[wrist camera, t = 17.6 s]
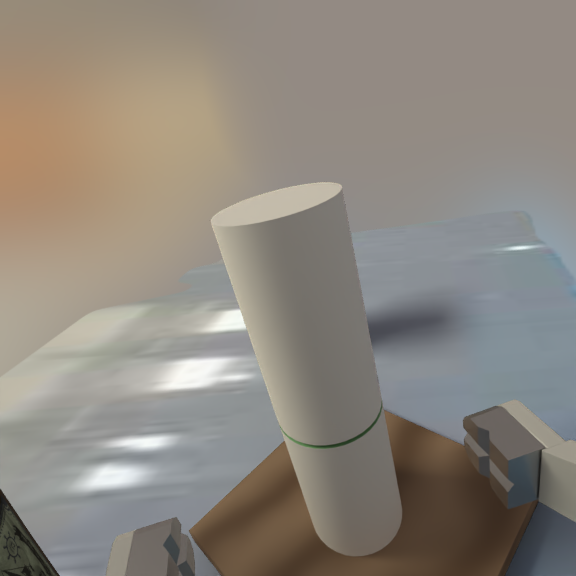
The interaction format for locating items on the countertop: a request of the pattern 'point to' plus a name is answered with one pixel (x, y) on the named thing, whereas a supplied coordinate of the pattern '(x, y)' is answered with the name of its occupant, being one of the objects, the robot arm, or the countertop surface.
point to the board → (404, 546)
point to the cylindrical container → (316, 356)
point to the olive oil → (19, 546)
